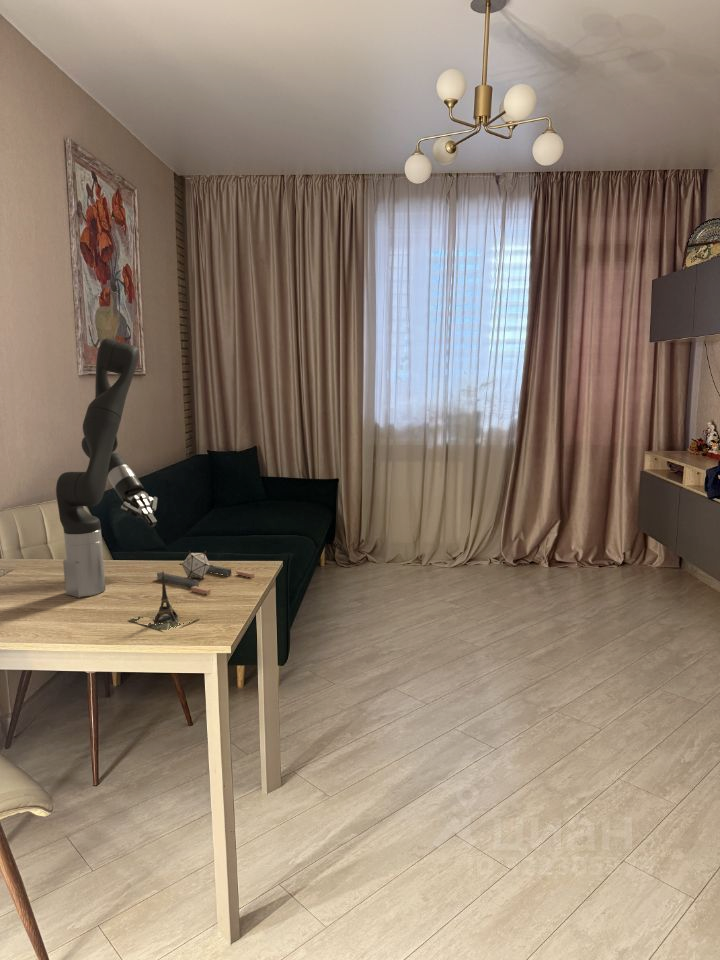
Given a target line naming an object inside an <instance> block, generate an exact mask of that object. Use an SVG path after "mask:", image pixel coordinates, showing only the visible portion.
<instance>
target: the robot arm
mask: <svg viewBox="0 0 720 960" xmlns="http://www.w3.org/2000/svg"><path fill="white" fill-rule="evenodd" d="M139 358H140V351H139V348H138V347H137V346H135V345H133V344H130V343H126V342H122V341H118V340H114V339H112V338H104V339H103V340H102V341H101V342H100V344H99V346H98V350H97V355H96V360H95V361H96V362H95V363H96V364H95V385H94V386H95V388H94V389H95V393H94V394H95V397H94V399H93V400H92V401H91V402H90V403H89V404H88V405H87V409H86V412H85V415H84V419H83V422H82V432H83V436H84V437H82V440H81V448H82V451H83V452H84V454H85V455H86V456H87V457H88V458H89V462H88V464H87V465H88V466H87V469H86V471H66V472H63V473H61V474H60V475H59V477H58V478H57V481H56V487H55V495H56V503H57V507H58V508H57V509H58V516H59V521H60V523H61V526H62V529H63V536H64V537H63V539H64V549H65V559H64V560H63V561H62V563H63V565H62V566H63V576H64V585H65V586H64V587H65V594H66V595H68V596H72V597H75V598H78V599H79V598H84V597H91V596H95V595H98V594H99V595H100V594H102V593H103V592H105V591H106V577H105V564H104V563H105V562H104V555H103V551H104V550H103V539H102V538H103V537H102V526H101V520H100V519H99V518H98V517H97V516H95V515H92V514H90V513H89V512H87V510H86V509H84V507H95V506H98V504H100V503H101V501H102V500H103V497H104V494H105V490H106V485H107V481H108V480H109V482H110V484H111V486H112V487H113V489H114V491H115V492H116V493H117V495H118V497H119V498H120V499H121V501H122V502H123V504H122V505H121V506H120V508H119V509H120V510H121V512H124V513H126V514H128V515H130V516H132V517H133V518H136V519H138V518H141V519H143V522H145V524H146V525H147V526H148V528H153V527H155V526H156V525H157V524H158V520H157V519H156V517H155V516H154V513H155V512H156V510H157V506H158V497H157V496H153V497H152V496H149V494H148V493H147V492H146V491H145V489H144V485H143V484H142V482H141V481H140V479H139V478H138V477H137V475H136V473H135V472H134V470H133V469H132V468H131V467H130V466H129V465H128V464H127V461H125V459H124V457H123V456H122V455H121V454H120V453H117V452H116V450H117V448H118V444H119V443H118V437H117V436H118V432H119V429H120V426H121V425H120V424H121V420H122V418H123V417H122V416H123V412H124V408H125V404H126V399H127V397H128V393H129V390H130V387H131V383H132V381H133V377H134V375H135V373H136V371H137V366H138V364H139ZM108 372H110V373H114V374H118V375H119V377H118V378H117V379H116V381H115V382H114V383H113V385H112V386H111V384H110V381H109V378H108Z"/></svg>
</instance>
